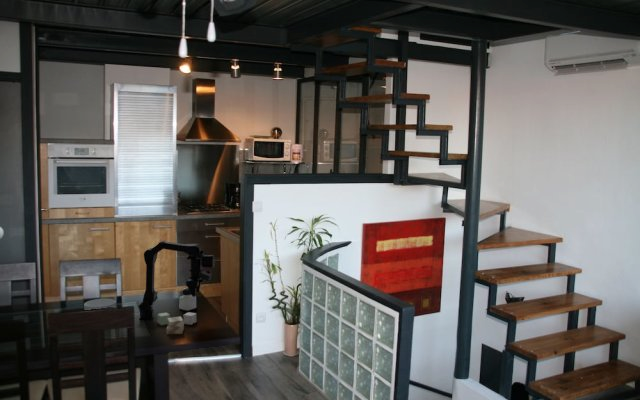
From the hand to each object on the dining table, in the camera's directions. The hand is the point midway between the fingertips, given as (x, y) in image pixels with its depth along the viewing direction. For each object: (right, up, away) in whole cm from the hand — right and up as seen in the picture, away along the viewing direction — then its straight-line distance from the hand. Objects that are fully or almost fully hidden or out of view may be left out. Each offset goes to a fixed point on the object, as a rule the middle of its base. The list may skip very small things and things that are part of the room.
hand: (195, 294), depth 325 cm
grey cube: (-3, -15, -3) cm, 16 cm away
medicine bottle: (-9, -12, +22) cm, 27 cm away
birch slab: (-7, -14, -17) cm, 23 cm away
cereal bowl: (-56, -13, +8) cm, 58 cm away
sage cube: (-17, -15, -4) cm, 23 cm away
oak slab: (-7, -17, -17) cm, 25 cm away
